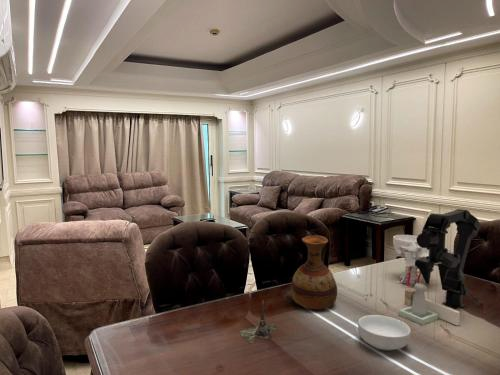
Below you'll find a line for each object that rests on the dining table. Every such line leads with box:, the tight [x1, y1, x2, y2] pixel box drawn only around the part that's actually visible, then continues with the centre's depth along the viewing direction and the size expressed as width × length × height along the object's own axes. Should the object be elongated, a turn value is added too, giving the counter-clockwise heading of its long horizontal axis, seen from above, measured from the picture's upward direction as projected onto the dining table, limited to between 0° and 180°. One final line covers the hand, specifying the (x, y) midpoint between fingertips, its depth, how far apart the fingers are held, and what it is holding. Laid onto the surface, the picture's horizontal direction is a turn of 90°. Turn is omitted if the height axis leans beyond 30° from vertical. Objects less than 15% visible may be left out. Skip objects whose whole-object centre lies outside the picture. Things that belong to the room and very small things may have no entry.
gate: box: [412, 294, 461, 326], centre depth 149 cm, size 2×20×5 cm, turn 27°
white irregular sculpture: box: [392, 234, 429, 287], centre depth 187 cm, size 25×19×23 cm
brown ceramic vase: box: [290, 234, 338, 310], centre depth 158 cm, size 20×20×30 cm
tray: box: [398, 306, 439, 326], centre depth 147 cm, size 10×10×2 cm
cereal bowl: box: [357, 314, 412, 351], centre depth 124 cm, size 17×17×7 cm
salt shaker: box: [411, 282, 427, 318], centre depth 147 cm, size 6×6×13 cm
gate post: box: [403, 288, 416, 307], centre depth 160 cm, size 3×3×7 cm
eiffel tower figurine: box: [239, 300, 278, 344], centre depth 131 cm, size 15×10×13 cm
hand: (434, 282), depth 150 cm, fingers open, 9 cm apart
